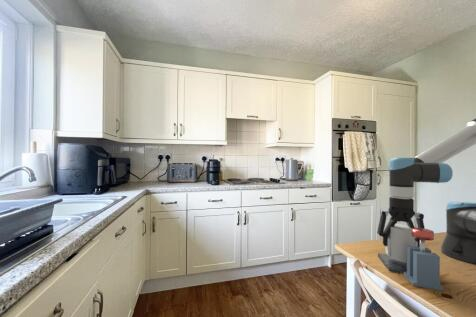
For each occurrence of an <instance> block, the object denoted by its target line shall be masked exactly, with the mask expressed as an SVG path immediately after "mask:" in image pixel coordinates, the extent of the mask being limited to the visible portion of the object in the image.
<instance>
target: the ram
mask: <svg viewBox="0 0 476 317" xmlns="http://www.w3.org/2000/svg"><path fill="white" fill-rule="evenodd" d="M434 233H435V232H434V230H431V229H428V228H425V229H424V228H418V226H417V227H415V226H414V228H412V236H413V237H415V238H418V239H420V252H425V247H426V241H434V240H435V238H434V236H435V234H434Z"/></svg>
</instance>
